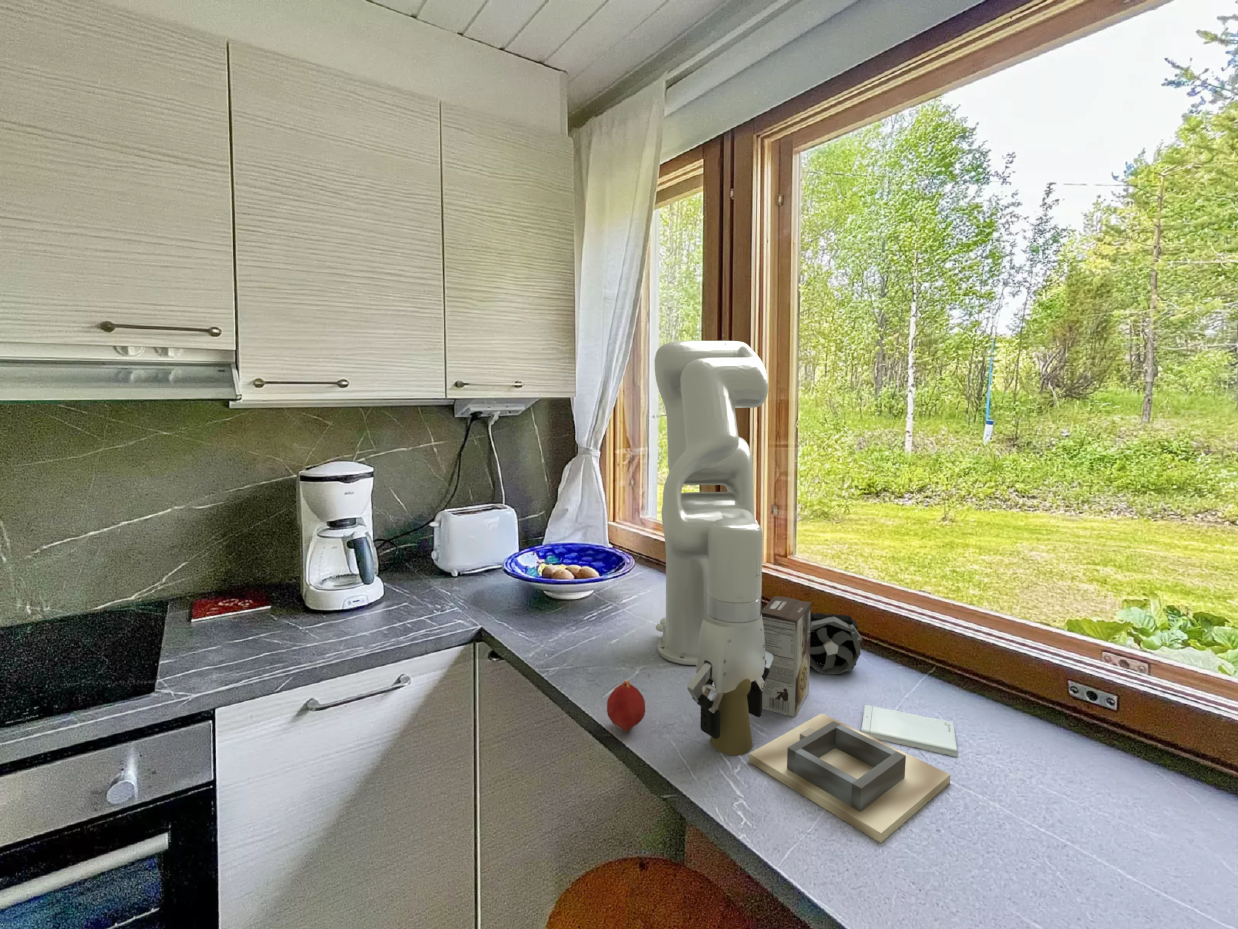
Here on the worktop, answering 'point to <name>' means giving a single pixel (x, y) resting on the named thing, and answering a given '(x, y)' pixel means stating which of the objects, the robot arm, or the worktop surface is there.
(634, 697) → the onion
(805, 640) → the coffee box
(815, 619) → the cpu cooler
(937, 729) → the hard drive
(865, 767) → the board
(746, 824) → the worktop surface
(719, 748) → the cork
